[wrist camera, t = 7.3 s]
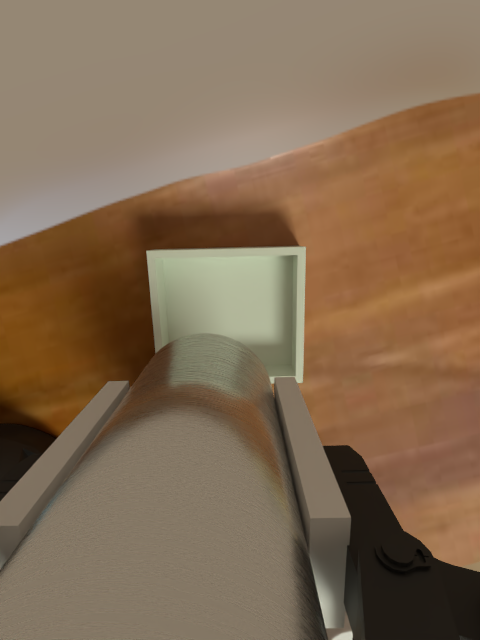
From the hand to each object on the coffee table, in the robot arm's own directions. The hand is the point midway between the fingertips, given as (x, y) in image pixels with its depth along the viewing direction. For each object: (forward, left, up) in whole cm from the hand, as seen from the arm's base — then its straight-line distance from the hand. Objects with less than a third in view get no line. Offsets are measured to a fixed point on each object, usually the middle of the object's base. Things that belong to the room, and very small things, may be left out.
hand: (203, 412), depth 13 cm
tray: (0, 0, -18) cm, 18 cm away
